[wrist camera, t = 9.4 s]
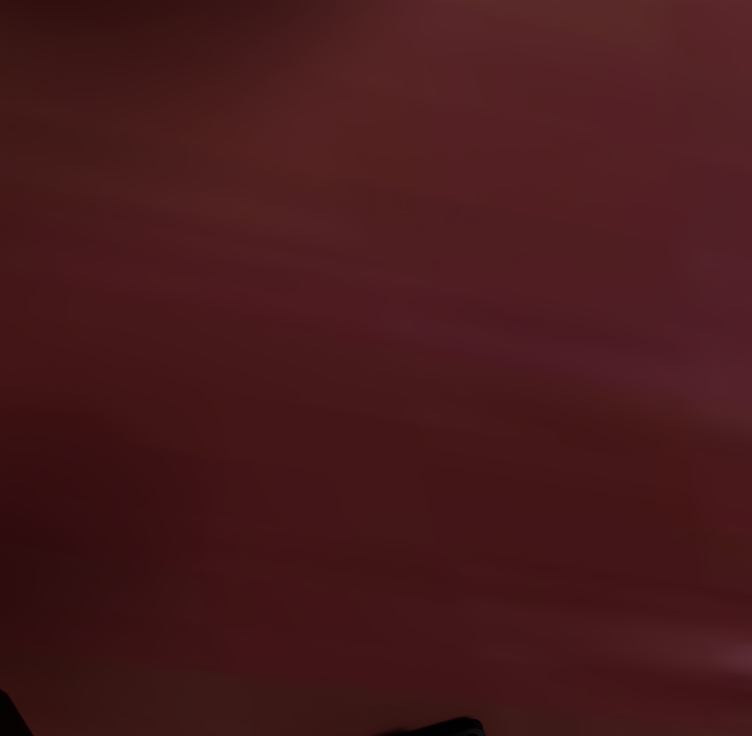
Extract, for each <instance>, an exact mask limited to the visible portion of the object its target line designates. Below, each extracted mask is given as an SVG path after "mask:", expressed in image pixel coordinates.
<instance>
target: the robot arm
mask: <svg viewBox="0 0 752 736" xmlns="http://www.w3.org/2000/svg"><path fill="white" fill-rule="evenodd" d="M0 736H33V734H32V732H31V731H30V729H29V728H28V726H27V724H26V723H25V721H24V720H23V718H22V716H21V715H20V713H19V712H18V710H17V708H16V707H15V705H14V703H13V702H12V700H11V699H10V697H9V696H8V694H7V693H6V692H4V691H3V690H1V689H0ZM410 736H486V735H485V732H484V729H483V726H482V724H481V722H480V721H478V720H476V719H467V720H463V721H459V722H456V723H452V724H449V725H445V726H442V727H438V728H435V729H431V730H427V731H424V732H420V733H417V734H413V735H410Z"/></svg>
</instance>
